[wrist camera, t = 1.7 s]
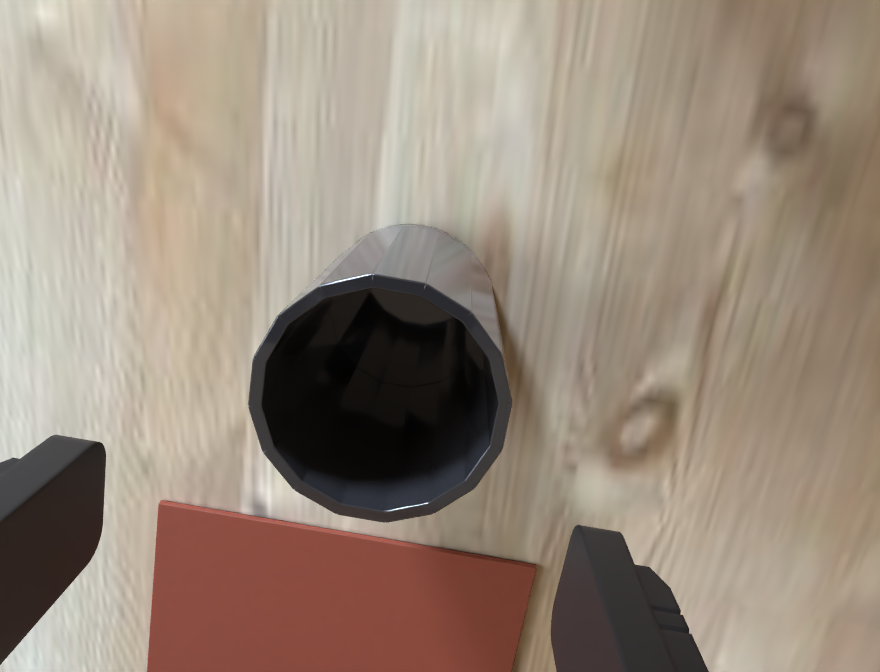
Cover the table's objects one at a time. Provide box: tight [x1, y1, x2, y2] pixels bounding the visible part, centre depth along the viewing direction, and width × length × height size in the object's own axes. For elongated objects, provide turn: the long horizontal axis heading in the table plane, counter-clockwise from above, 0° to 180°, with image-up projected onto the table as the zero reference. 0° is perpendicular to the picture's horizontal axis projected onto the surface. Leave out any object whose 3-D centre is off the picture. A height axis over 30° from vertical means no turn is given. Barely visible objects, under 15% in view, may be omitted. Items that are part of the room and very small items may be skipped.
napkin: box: [147, 500, 536, 672], centre depth 32 cm, size 16×12×1 cm
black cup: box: [248, 224, 512, 522], centre depth 23 cm, size 6×6×10 cm
